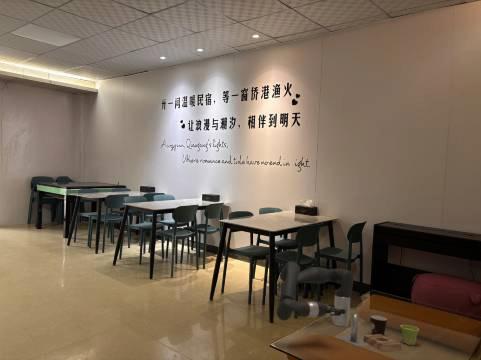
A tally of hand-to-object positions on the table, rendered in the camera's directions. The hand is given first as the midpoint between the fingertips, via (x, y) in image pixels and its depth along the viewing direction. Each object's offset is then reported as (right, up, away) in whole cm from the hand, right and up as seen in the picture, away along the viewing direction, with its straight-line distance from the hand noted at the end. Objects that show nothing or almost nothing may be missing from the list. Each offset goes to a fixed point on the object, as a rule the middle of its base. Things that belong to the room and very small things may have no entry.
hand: (339, 309), depth 196 cm
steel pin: (+8, -19, +4) cm, 21 cm away
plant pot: (+41, -23, +10) cm, 48 cm away
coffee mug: (+27, -22, +20) cm, 41 cm away
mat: (+9, -19, +5) cm, 22 cm away
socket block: (+23, -20, +2) cm, 30 cm away
